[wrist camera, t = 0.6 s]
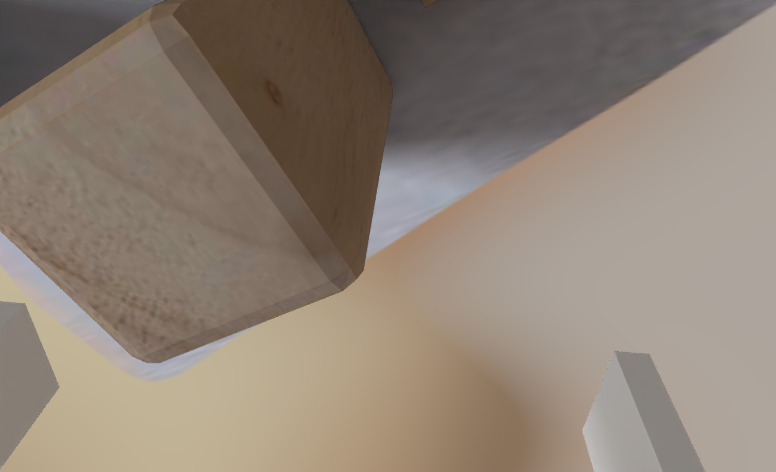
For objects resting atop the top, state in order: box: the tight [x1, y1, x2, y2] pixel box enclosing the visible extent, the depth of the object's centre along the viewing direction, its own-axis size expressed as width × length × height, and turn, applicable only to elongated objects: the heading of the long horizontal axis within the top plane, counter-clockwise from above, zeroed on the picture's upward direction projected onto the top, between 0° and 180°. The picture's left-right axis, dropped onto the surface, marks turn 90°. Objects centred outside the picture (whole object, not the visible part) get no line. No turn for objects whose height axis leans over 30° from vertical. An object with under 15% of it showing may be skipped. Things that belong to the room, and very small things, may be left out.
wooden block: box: [0, 0, 393, 363], centre depth 25 cm, size 10×10×20 cm
